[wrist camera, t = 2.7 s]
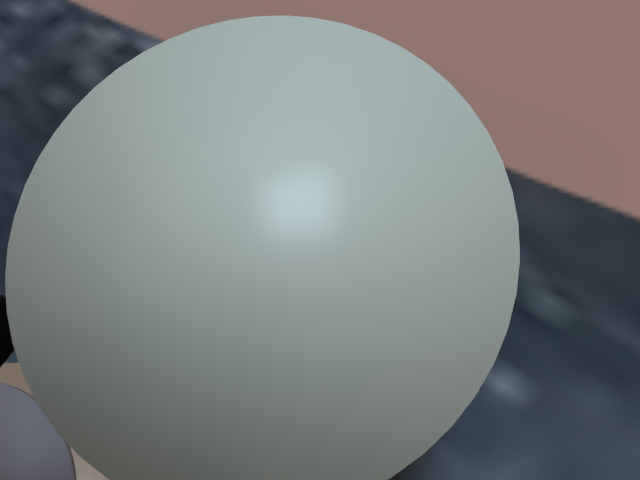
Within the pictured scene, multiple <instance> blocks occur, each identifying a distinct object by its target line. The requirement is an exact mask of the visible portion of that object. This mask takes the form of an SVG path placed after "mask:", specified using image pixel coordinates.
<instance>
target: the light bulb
mask: <svg viewBox="0 0 640 480" xmlns="http://www.w3.org/2000/svg"><path fill="white" fill-rule="evenodd" d="M519 263H520V249H519V225H518V219H517V214H516V208H515V203H514V197H513V192H512V189H511V186H510V183H509V180H508V177H507V174H506V171H505V168H504V165H503V162H502V159H501V157H500V155H499V153H498V151H497V149H496V147H495V145H494V143H493V141H492V139H491V137H490V135H489V133H488V131H487V130H486V129H485V127H484V125H483V124H482V123H481V121H480V120H479V118H478V117H477V115H476V114H475V112H474V111H473V109H472V108H471V106H470V105H469V104H468V103H467V102H466V101H465V100H464V99H463V98H462V96H461V95H460V94H459V93H458V92H457V91H456V90H455V89H454V88H453V87H452V85H451V84H450V83H449V82H448V81H447V80H445V79H444V78H443V77H442V76H441V75H439V74H438V73H437V72H436V71H435V70H434V69H432V68H431V67H430V66H429V65H428V64H427V63H425V62H424V61H422V60H421V59H419V58H417V57H416V56H414V55H413V54H411V53H410V52H408V51H406V50H405V49H404V48H402V47H400V46H398V45H396V44H394V43H392V42H390V41H388V40H386V39H384V38H382V37H380V36H377V35H375V34H373V33H370V32H367V31H364V30H361V29H358V28H355V27H352V26H349V25H346V24H342V23H337V22H332V21H328V20H323V19H318V18H308V17H297V16H257V17H249V18H242V19H235V20H228V21H224V22H220V23H216V24H212V25H208V26H204V27H200V28H197V29H194V30H192V31H189V32H186V33H184V34H181V35H178V36H176V37H173V38H170V39H168V40H166V41H164V42H162V43H160V44H158V45H156V46H154V47H152V48H150V49H148V50H146V51H144V52H143V53H141V54H140V55H138V56H136V57H135V58H133V59H132V60H130V61H129V62H127V63H126V64H124V65H122V66H121V67H119V68H118V69H117V70H115V71H114V72H113V73H112V74H111V75H109V76H108V77H107V78H106V79H104V80H103V81H102V82H101V83H99V84H98V85H97V86H96V87H94V89H93V90H92V91H91V92H90V93H89V94H88V95H87V96H86V97H85V98H84V99H83V100H82V101H81V102H80V103H79V104H78V105H77V106H76V107H75V108H74V109H73V110H72V111H71V112H70V114H69V115H68V116H67V117H66V119H65V120H64V121H63V122H62V124H61V125H60V126H59V127H58V129H57V130H56V131H55V132H54V134H53V136H52V137H51V139H50V140H49V142H48V143H47V145H46V147H45V148H44V150H43V151H42V153H41V155H40V156H39V158H38V160H37V162H36V164H35V166H34V168H33V170H32V172H31V174H30V176H29V178H28V180H27V182H26V185H25V187H24V190H23V192H22V195H21V198H20V201H19V204H18V207H17V210H16V213H15V216H14V220H13V225H12V230H11V234H10V239H9V244H8V251H7V262H6V274H5V287H6V310H7V316H8V322H9V327H10V333H11V338H12V343H13V346H14V349H15V352H16V355H17V359H18V362H19V365H20V368H21V371H22V374H23V376H24V378H25V380H26V382H27V384H28V386H29V388H30V390H31V392H32V394H33V396H34V398H35V400H36V402H37V404H38V405H39V407H40V408H41V410H42V411H43V413H44V414H45V416H46V417H47V419H48V420H49V421H50V423H51V424H52V426H53V427H54V429H55V430H56V431H57V433H58V434H59V435H60V436H61V437H62V438H63V439H64V440H65V441H66V442H67V443H68V444H69V445H70V447H71V448H72V449H73V450H74V451H75V452H76V453H77V454H78V455H79V456H80V457H81V458H82V459H84V460H85V461H86V462H87V463H89V464H90V465H91V466H92V467H94V468H95V469H96V470H97V471H99V472H100V473H101V474H102V475H104V476H105V477H106V478H108V479H110V480H388V479H390V478H391V477H393V476H394V475H396V474H397V473H398V472H400V471H401V470H403V469H404V468H405V467H407V466H408V465H409V464H411V463H412V462H413V461H415V460H416V459H417V458H419V457H420V456H422V455H423V454H424V453H425V452H426V451H427V450H428V449H429V448H430V447H431V446H432V445H433V444H434V443H435V442H436V441H437V440H439V439H440V438H441V437H442V436H443V435H444V434H445V433H446V432H447V431H448V430H449V429H450V428H451V427H452V426H453V424H454V423H455V422H456V420H457V419H458V418H459V417H460V415H461V414H462V413H463V411H464V410H465V409H466V408H467V406H468V405H469V404H470V402H471V401H472V400H473V398H474V397H475V396H476V394H477V392H478V391H479V389H480V387H481V385H482V384H483V382H484V380H485V378H486V377H487V375H488V373H489V371H490V370H491V368H492V366H493V364H494V362H495V360H496V357H497V355H498V352H499V350H500V347H501V345H502V342H503V340H504V337H505V335H506V332H507V330H508V326H509V322H510V318H511V314H512V310H513V306H514V302H515V297H516V293H517V283H518V273H519Z"/></svg>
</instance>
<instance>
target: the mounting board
mask: <svg viewBox="0 0 640 480" xmlns="http://www.w3.org/2000/svg"><path fill="white" fill-rule="evenodd" d="M0 480H110V479H108V478H106V477H105V476H104V475H102V474H101V473H100V472H99V471H97V470H96V469H95V468H94V467H92V466H91V465H90V464H89V463H87V462H86V461H85V460H84V459H82V458H81V457H80V456H79V455H78V454H77V453H76V452H75V451H74V450H73V449H72V448H71V447H70V445H69V444H68V443H67V442H66V441H65V440H64V439H63V438H62V437H61V436H60V435H59V434H58V433H57V431H56V430H55V429H54V427H53V426H52V424H51V423H50V421H49V420H48V419H47V417H46V416H45V414H44V413H43V411H42V410H41V408H40V407H39V405H38V404H37V402H36V400H35V398H34V396H33V394H32V392H31V390H30V388H29V386H28V384H27V382H26V380H25V378H24V376H23V374H22V371H21V368H20V365H19V363H4V364H3V365H2V366H1V367H0Z"/></svg>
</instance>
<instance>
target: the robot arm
mask: <svg viewBox="0 0 640 480" xmlns="http://www.w3.org/2000/svg"><path fill="white" fill-rule="evenodd" d="M14 350H15V349H14V346H13V343H12V338H11V333H10V327H9V322H8V316H7V310H6V296H3V295H0V367H1V366H2V365H3V364H4V363H5V361H6V360H7V359H8V358H9V356H10V355H11V354H12V353H13V351H14Z"/></svg>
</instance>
